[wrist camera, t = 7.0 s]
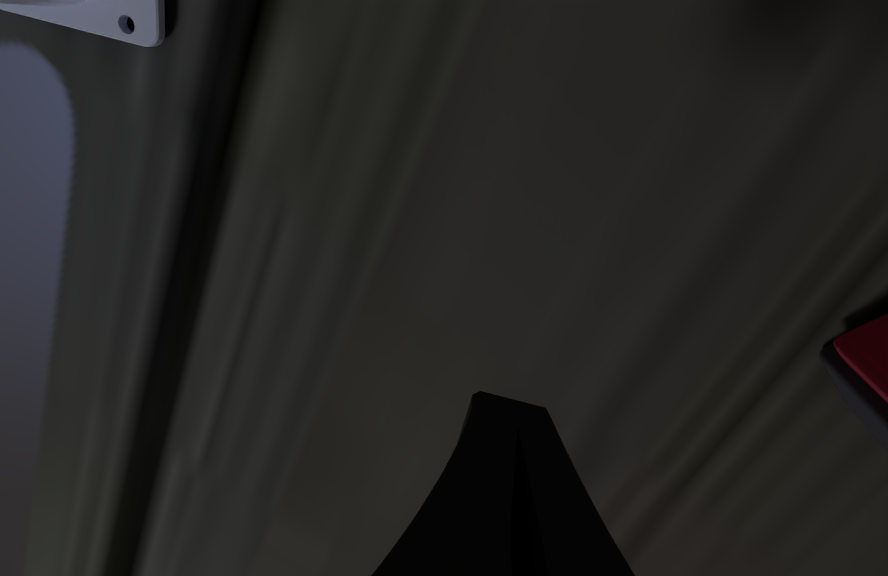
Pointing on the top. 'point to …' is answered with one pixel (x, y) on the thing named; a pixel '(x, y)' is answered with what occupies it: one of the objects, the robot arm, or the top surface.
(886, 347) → the grey and red box
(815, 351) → the top surface
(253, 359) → the top surface
